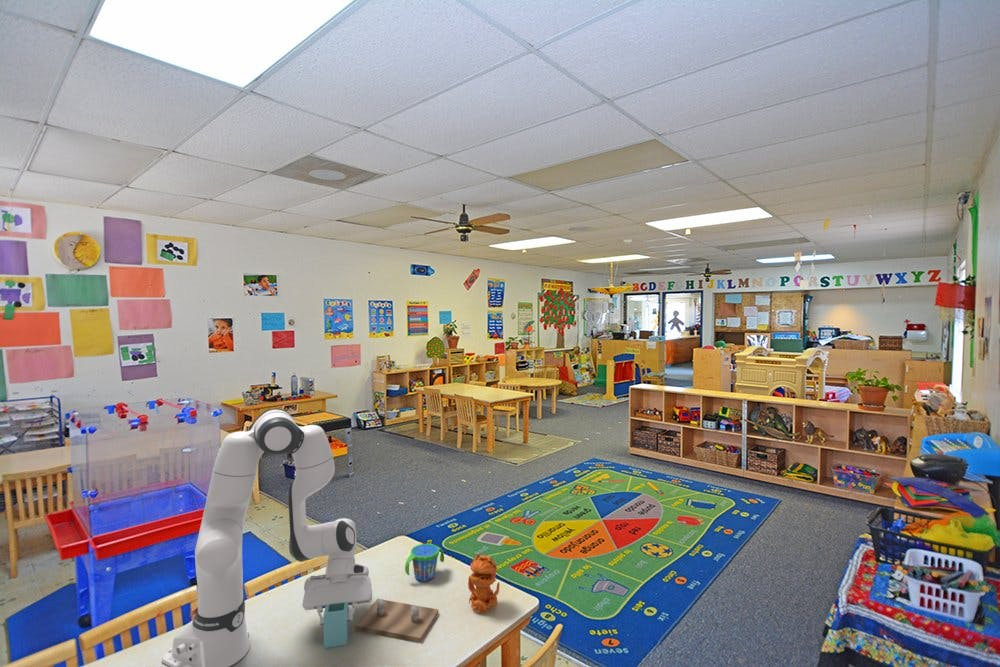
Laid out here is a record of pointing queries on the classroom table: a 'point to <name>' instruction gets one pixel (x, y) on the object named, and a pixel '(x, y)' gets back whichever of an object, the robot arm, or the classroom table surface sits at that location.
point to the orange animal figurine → (483, 583)
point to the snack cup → (424, 561)
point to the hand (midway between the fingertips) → (336, 622)
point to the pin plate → (397, 620)
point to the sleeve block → (336, 625)
